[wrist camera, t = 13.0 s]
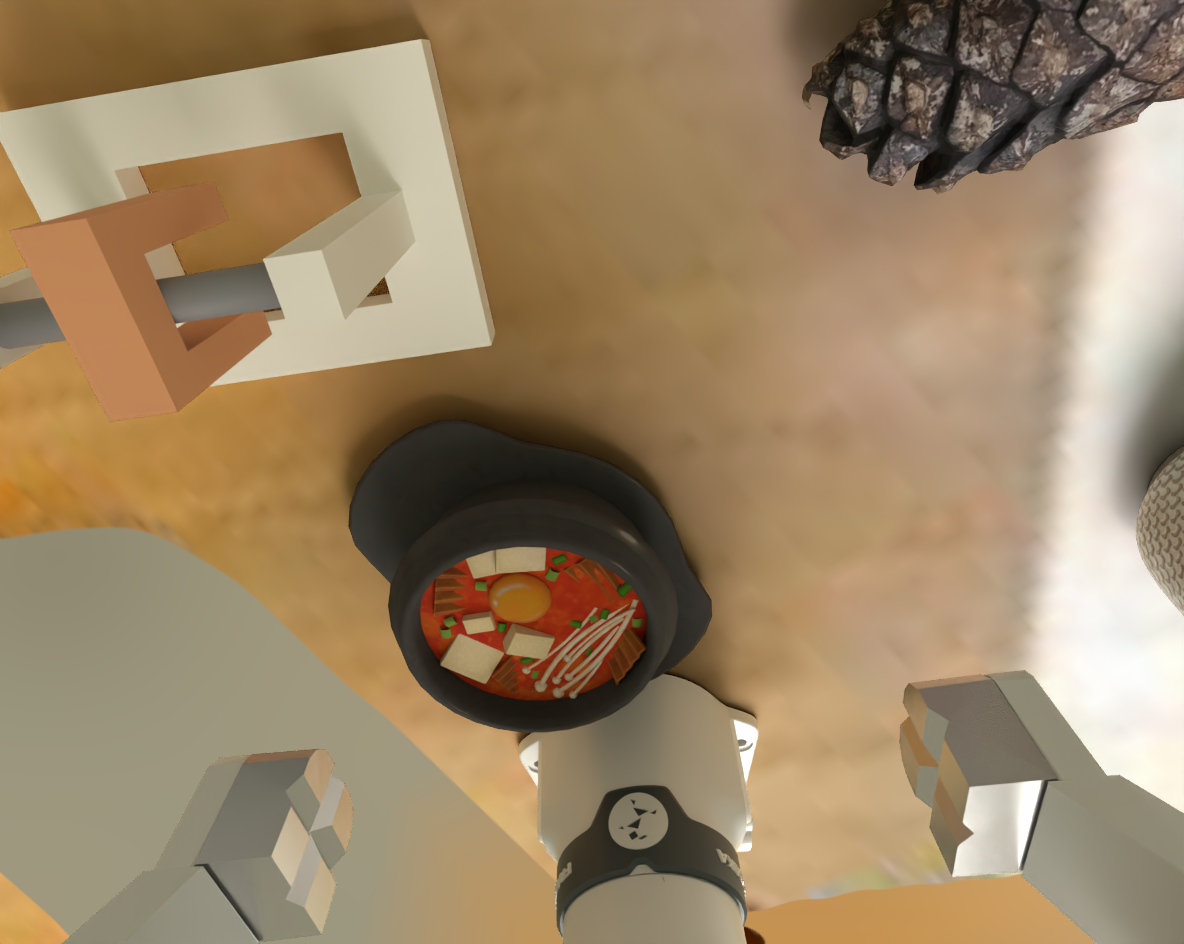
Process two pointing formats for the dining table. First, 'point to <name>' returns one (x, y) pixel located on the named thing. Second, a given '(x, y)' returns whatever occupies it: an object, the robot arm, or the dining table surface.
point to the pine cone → (992, 81)
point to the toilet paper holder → (312, 260)
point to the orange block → (134, 301)
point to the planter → (1165, 528)
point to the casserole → (525, 576)
